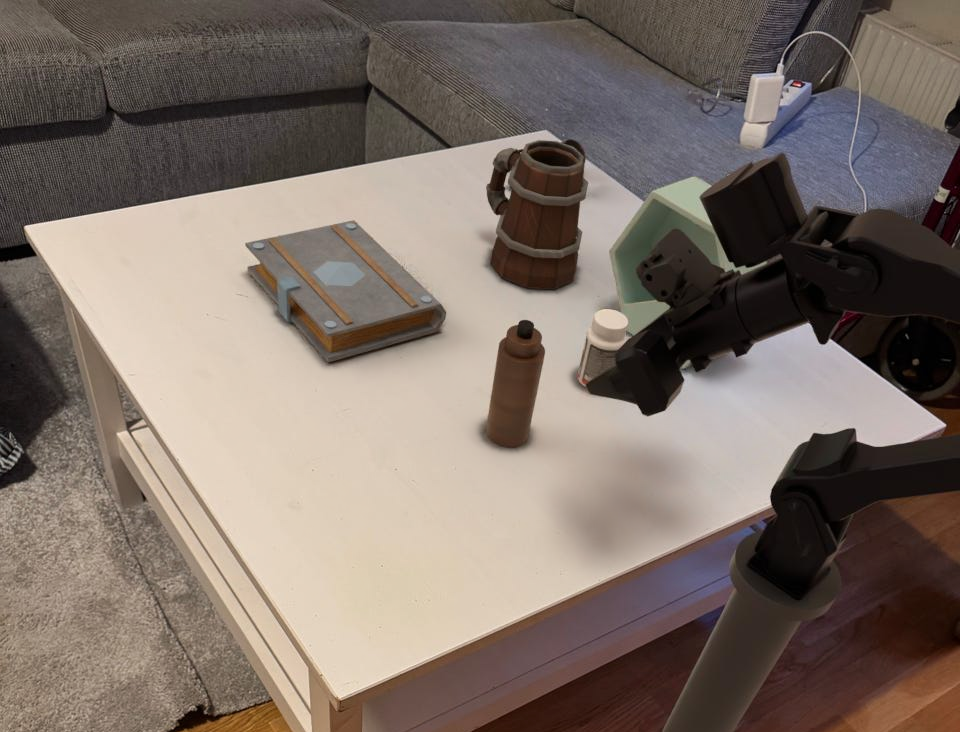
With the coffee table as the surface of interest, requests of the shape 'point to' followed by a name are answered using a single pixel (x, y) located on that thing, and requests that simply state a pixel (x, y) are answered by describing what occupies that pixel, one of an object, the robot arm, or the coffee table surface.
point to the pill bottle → (602, 343)
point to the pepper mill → (515, 385)
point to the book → (343, 290)
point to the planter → (646, 230)
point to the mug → (537, 213)
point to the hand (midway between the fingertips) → (609, 366)
